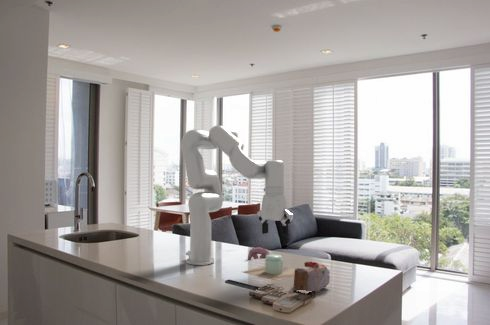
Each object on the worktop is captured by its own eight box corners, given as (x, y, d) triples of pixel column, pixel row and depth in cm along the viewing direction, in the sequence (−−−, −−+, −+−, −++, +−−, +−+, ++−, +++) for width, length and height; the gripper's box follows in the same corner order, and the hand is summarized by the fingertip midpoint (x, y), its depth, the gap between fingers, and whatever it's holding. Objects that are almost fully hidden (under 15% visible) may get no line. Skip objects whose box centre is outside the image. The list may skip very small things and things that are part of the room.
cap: (261, 271, 157) (262, 256, 157) (272, 268, 162) (272, 253, 162) (275, 274, 152) (275, 258, 152) (285, 271, 157) (285, 256, 157)
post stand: (241, 275, 156) (241, 261, 156) (269, 267, 170) (269, 254, 170) (278, 284, 144) (278, 269, 144) (305, 275, 158) (305, 261, 158)
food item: (312, 283, 147) (312, 256, 147) (331, 287, 141) (331, 260, 142) (291, 291, 136) (291, 263, 137) (311, 296, 131) (311, 266, 131)
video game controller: (269, 264, 184) (270, 249, 187) (267, 261, 180) (269, 246, 183) (248, 262, 186) (250, 248, 189) (246, 260, 182) (248, 245, 185)
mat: (225, 282, 146) (225, 280, 146) (242, 277, 154) (242, 275, 154) (254, 290, 137) (254, 288, 137) (271, 284, 144) (271, 282, 144)
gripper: (252, 191, 160) (252, 233, 160) (287, 192, 149) (287, 237, 149) (263, 190, 166) (263, 231, 166) (298, 191, 155) (298, 235, 154)
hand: (274, 234), depth 157 cm, fingers open, 9 cm apart
